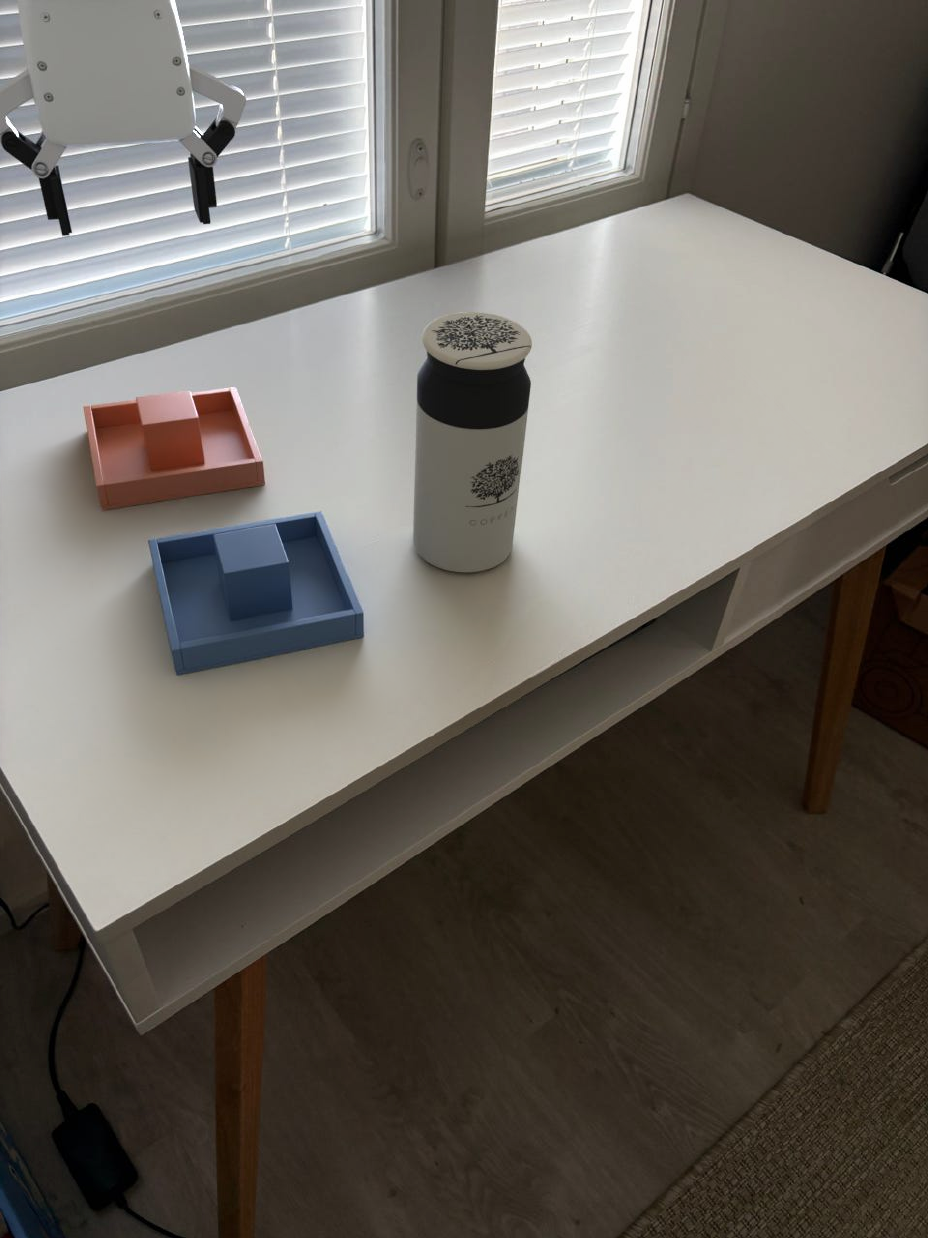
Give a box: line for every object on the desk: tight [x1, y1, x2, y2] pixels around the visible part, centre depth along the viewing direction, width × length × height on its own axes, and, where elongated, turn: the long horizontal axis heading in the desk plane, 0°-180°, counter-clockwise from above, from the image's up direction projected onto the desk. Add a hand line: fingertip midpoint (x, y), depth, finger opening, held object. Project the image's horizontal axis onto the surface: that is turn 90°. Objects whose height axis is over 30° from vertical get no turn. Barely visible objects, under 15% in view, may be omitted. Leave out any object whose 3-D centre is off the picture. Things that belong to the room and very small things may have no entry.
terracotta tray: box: [83, 386, 266, 511], centre depth 86 cm, size 13×12×2 cm
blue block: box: [213, 524, 293, 621], centre depth 73 cm, size 4×4×4 cm
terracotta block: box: [135, 390, 205, 471], centre depth 85 cm, size 4×4×4 cm
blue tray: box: [147, 510, 365, 676], centre depth 74 cm, size 13×12×2 cm
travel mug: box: [412, 311, 533, 573], centre depth 74 cm, size 8×8×18 cm
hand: (135, 222), depth 73 cm, fingers open, 9 cm apart
